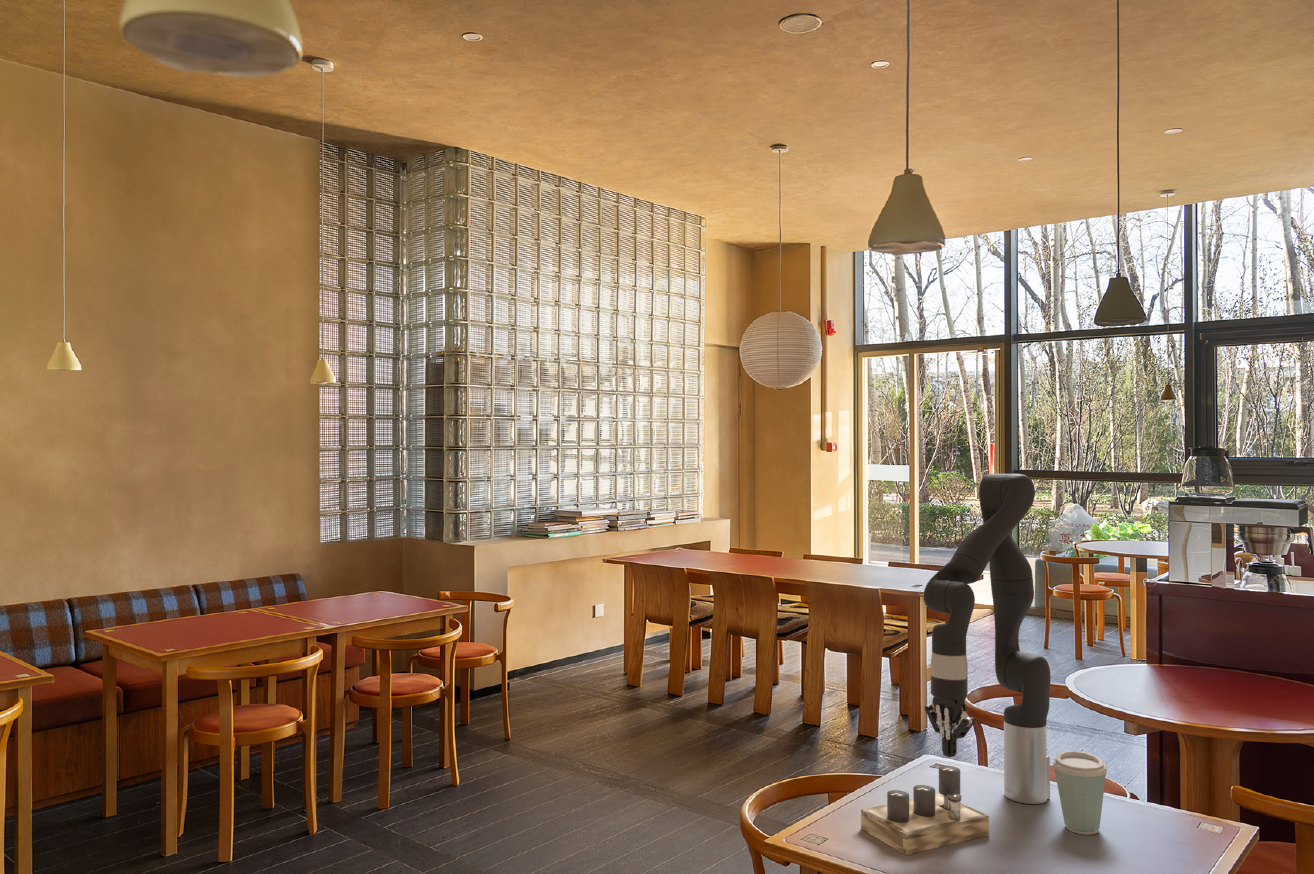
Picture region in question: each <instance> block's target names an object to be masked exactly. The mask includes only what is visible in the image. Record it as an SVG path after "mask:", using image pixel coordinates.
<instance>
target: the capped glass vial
mask: <svg viewBox="0 0 1314 874" xmlns="http://www.w3.org/2000/svg"><path fill="white" fill-rule="evenodd" d="M947 799H948V818H949V819H950V820H953V821H959V820H961V807H960V803H961V801H962V795H961V793H960V794H957V793H948V794H947Z"/></svg>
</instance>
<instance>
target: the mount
mask: <svg viewBox="0 0 1314 874" xmlns="http://www.w3.org/2000/svg"><path fill="white" fill-rule="evenodd" d="M960 807H961V820H959V821H953V820H950V819H949V818H948V809H947V808H945V807H944V795H942V794H940V793H935V815H934V816H932V817H923V816H919V815H916V814H915V813H914V812H913V798H912V799H909V821H908V822H904V823H897V822H893V821H890V820H889V819H888V818H887V804H882V805H878V806H874V807H868V808H864V809H861V810H860V829H861V830H862V831H864V832H866V833H867V834H869V835H871V836H872V837H875V838H876V839H878V840H879V841H881V842H883V843H885V844H887V845H888V846H890V847H891V848H894V849H895V850H897V851H899V852H901V853H902V854H904V855H906V856H908V855H913V854H917V853H921V852H926V851H929V850H933V849H938V848H942V847H945V846H949V845H955V844H958V843H963V842H966V841H967V842H968V841H971V840H974V839H980V838H984V837H987V836H990V828H989V825H990V822H989V821H990V820H989V817H990V816H989V815H988V814H986V813H985V812H984V813H983V812H982V811H979V810H978V809H975V808H973V807H971V806H968V805H967V804H965V803H962V802H960ZM916 852H917V853H916Z"/></svg>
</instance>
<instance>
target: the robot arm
mask: <svg viewBox="0 0 1314 874" xmlns="http://www.w3.org/2000/svg"><path fill="white" fill-rule="evenodd" d="M978 490H979V491H978V497H979V498H978V500H979V506H980V507H979V508H980V511H981V515H982V516H981V517H982V521H983V523H982V524H980V525H979V526H977V527H976V528H975V529H974V530H971V532H970V533H968V534H967V535H966V536H965V537H964V539H962V541H961V542H960V543H959V545H958V547H957V548H956V550H955V552H954V554H953V555H952V557H951V559H950V560H949V561H948V562H947V563H946V564H945V565H944V566H943V567H941V568H940V569H939V570H938V571H937V572H936V573H935V574H933V576H932V577H931V578H930V579H929V580H928V581H927V583H926V585H925V587H924V591H923V602H924V604H925V606H926V608H927V609H929V610H930V611H933V612H936V613H943V614H949V615H950V616H949V619H948V621H947V623H938V624H936V625H934V626H933V627H932V631H931V657H930V694H931V696H932V697H933V698H932V701H931V702H932V703H930V704H928V705H925V706H924V711H925V713H926V715H927V718H928V720H929V722H930V723H931V726H932V728H933V731H934V732H935V733H938V734H939V736H940V738H941V751H942V754H943V756H945V757H948V758H953V757H956V755H957V753H958V752H957V751H958V750H957V749H958V748H957V747H958V746H957V740H958V739H963V738H965V737H966V736H967V734H968V732H970V730H971V728H972V727H973V726H974V725H975V722H976V720H975V718H974V717H970V715H968V713H967V706H966V703H965V702H966V701H965V700H967V698H968V696H969V695H968V694H969V693H968V692H969V691H968V688H969V687H968V682H969V681H968V676H969V675H968V674H969V673H968V668H969V666H968V659H967V633H968V630H969V626H970V622H971V618H972V615H973V612H974V609H975V601H976V598H975V593H974V590H973V588H972V587H971V585H969V584H974V583H976V582H978V580H979V579H980V578H981V576H982V574H984V573H983V572H984V571H985V569H986V567H987V566H988V564H989V580H990V588H991V597H992V604H993V605H992V606H993V617H994V670H995V676H996V680H997V682H998V683H999V685H1000V686H1001V687H1003V688H1004V689H1007V690H1009V691H1013V692H1016V693H1017V692H1018V693H1021V694H1022V697H1021V703H1020V704H1018V703H1017V704H1013V705H1008V706H1006V707H1005V708H1004V709H1003V779H1004V781H1003V783H1004V785H1003V787H1004V790H1003V792H1004V793H1003V794H1004V796H1005V797H1006V798H1007V799H1009V800H1011V801H1014V802H1016V803H1021V804H1027V805H1041V804H1044V803H1046V802H1047V801H1048V799H1050V798H1051V762H1050V760H1051V757H1050V756H1049V755H1047V754H1048V750H1047V749H1048V747H1047V746H1048V743H1047V738H1048V737H1047V736H1048V735H1047V733H1048V732H1047V731H1048V730H1047V729H1048V728H1047V725H1048V723H1047V722H1048V721H1047V720H1048V716H1049V712H1050V711H1049V710H1050V696H1051V695H1050V694H1051V669H1050V664H1049V662H1048V661H1047V659H1046V658H1045V657H1043V656H1041V655H1040V654H1039V655H1038V654H1034V653H1029V652H1024V651H1021V650H1020V643H1019V642H1020V641H1019V636H1020V633H1019V632H1020V628H1021V625H1022V623H1023V621H1024V619H1025V617H1026V616H1027V615H1028V613H1029V610H1030V609H1031V606H1032V605H1033V602H1034V599H1035V598H1034V597H1035V590H1034V589H1035V587H1034V577H1033V569H1032V567H1031V564H1030V562H1029V560H1028V559H1027V557H1026V555H1025V554H1024V552H1023V551H1022V549H1020V547H1019V545H1018V544H1017V542H1016V541H1015V539H1014V538H1013V536H1012V533H1011V532H1012V531H1013V530H1014V529H1015V528H1016V527H1017V525H1018V524H1020V522H1021V521H1022V520H1023V518H1024V517H1025V516H1026V514H1027V513H1028V512H1029V511H1030V509H1031V507H1032V506H1033V504H1034V500H1035V497H1036V489H1035V485H1034V482H1033V481H1032V479H1031V478H1030V477H1029V476H1027V475H1026V474H1021V473H987V474H985V475H984V476H983V477H982V479H981V480H980V482H979V489H978Z"/></svg>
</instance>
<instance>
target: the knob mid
mask: <svg viewBox="0 0 1314 874" xmlns="http://www.w3.org/2000/svg"><path fill="white" fill-rule="evenodd" d="M912 788H913V789H912V790H913V792H912V793H913V797H912V799H913V812H914V813H915V814H916V815H919V816H923V817H932V816H934V815H935V794H936V788H935V787H933V786H930V785H926V784H918V785H914V786H913V787H912Z"/></svg>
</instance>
